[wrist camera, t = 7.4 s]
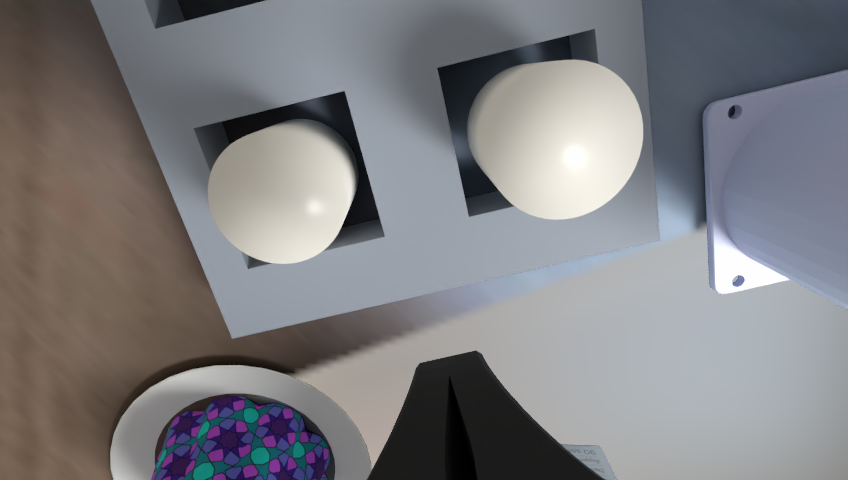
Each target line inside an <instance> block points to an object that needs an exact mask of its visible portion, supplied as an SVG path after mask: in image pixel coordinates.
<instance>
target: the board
mask: <svg viewBox="0 0 848 480" xmlns="http://www.w3.org/2000/svg"><path fill="white" fill-rule="evenodd" d="M91 3H92V5H93V7H94V10H95V12H96V14H97V17H98V19H99V22H100V24H101V26H102V29H103V31H104V34H105V36H106V38H107V41H108V43H109V45H110V48H111V50H112V53H113V55H114V57H115V60H116V62H117V65H118V67H119V69H120V72H121V74H122V77H123V79H124V81H125V84H126V86H127V88H128V91H129V93H130V96H131V98H132V100H133V103H134V105H135V108H136V110H137V112H138V115H139V117H140V120H141V122H142V124H143V127H144V129H145V131H146V134H147V136H148V139H149V141H150V143H151V146H152V148H153V151H154V153H155V155H156V158H157V160H158V163H159V165H160V167H161V170H162V172H163V174H164V177H165V179H166V182H167V184H168V186H169V189H170V191H171V194H172V196H173V198H174V201H175V203H176V205H177V208H178V210H179V213H180V215H181V217H182V220H183V222H184V225H185V227H186V229H187V232H188V234H189V237H190V239H191V241H192V244H193V246H194V248H195V251H196V253H197V256H198V258H199V260H200V263H201V265H202V268H203V270H204V272H205V275H206V277H207V280H208V282H209V284H210V287H211V289H212V291H213V294H214V296H215V299H216V301H217V303H218V306H219V308H220V311H221V313H222V315H223V318H224V320H225V323H226V325H227V327H228V330H229V332H230V334H231V337H232V339H233V338H238V337H242V336H246V335H251V334H255V333H259V332H264V331H268V330H273V329H277V328H281V327H286V326H290V325H294V324H299V323H303V322H307V321H312V320H316V319H320V318H325V317H329V316H334V315H338V314H342V313H347V312H351V311H355V310H360V309H364V308H368V307H373V306H377V305H382V304H386V303H390V302H395V301H399V300H403V299H408V298H412V297H416V296H421V295H425V294H429V293H434V292H438V291H443V290H447V289H451V288H456V287H460V286H464V285H469V284H473V283H477V282H482V281H486V280H490V279H495V278H499V277H504V276H508V275H512V274H517V273H521V272H525V271H530V270H534V269H538V268H543V267H547V266H551V265H556V264H560V263H565V262H569V261H573V260H578V259H582V258H586V257H591V256H595V255H599V254H604V253H608V252H613V251H617V250H621V249H626V248H630V247H634V246H639V245H643V244H647V243H652V242H656V241H660V235H659V221H658V208H657V195H656V182H655V168H654V155H653V142H652V129H651V115H650V102H649V89H648V76H647V63H646V49H645V36H644V23H643V10H642V0H265V1H261V2H258V3H254V4H250V5H246V6H242V7H238V8H234V9H230V10H226V11H223V12H219V13H215V14H211V15H207V16H203V17H199V18H195V19H192V20H188V21H185V19H184V17H183V14H182V11H181V8H180V6H179V3H178V0H91ZM568 35H569V41H570V49H571V57H572V60H584V61H589V62H593V63H596V64H599V65H601V66H604V67H606V68H607V69H609V70H611V71H612V72H614V73H615V74H616V75H618V76H619V77H620V78H621V79H622V80H623V81H624V82H625V83H626V84H627V85H628V87H629V88H630V90H631V91H632V93H633V94H634V96H635V98H636V100H637V102H638V105H639V108H640V111H641V115H642V121H643V142H642V148H641V153H640V157H639V159H638V162H637V165H636V167H635V169H634V171H633V173H632V175H631V176H630V178H629V179H628V181H627V182H626V184H625V185H624V186H623V188H622V189H621V190H620V191H619V192H618V193H617V194H616V195H615V196H614V197H613V198H612V199H611V200H609V201H608V202H607V203H605V204H604V205H603V206H601V207H599V208H598V209H596V210H594V211H592V212H590V213H587V214H585V215H582V216H579V217H575V218H570V219H561V220H552V219H544V218H539V217H535V216H532V215H530V214H527V213H525V212H523V211H521V210H520V209H518V208H517V207H515V206H514V205H513V204H511V203H510V202H509V201H508V200H507V199H506V198H505V197H504V196H503V195H502V193H501V192H500V191H495V192H491V193H486V194H482V195H478V196H474V197H470V198H465V196H464V192H463V187H462V182H461V177H460V173H459V168H458V163H457V159H456V154H455V149H454V144H453V140H452V135H451V130H450V125H449V121H448V116H447V111H446V107H445V102H444V97H443V92H442V88H441V83H440V78H439V74H438V69H437V68H439V67H443V66H447V65H451V64H455V63H459V62H463V61H467V60H471V59H475V58H479V57H483V56H487V55H491V54H495V53H499V52H503V51H507V50H512V49H516V48H520V47H524V46H528V45H532V44H536V43H540V42H544V41H548V40H552V39H556V38H560V37H564V36H568ZM342 91H345V94H346V97H347V101H348V105H349V108H350V112H351V116H352V119H353V123H354V126H355V130H356V134H357V137H358V141H359V145H360V148H361V152H362V155H363V159H364V163H365V166H366V170H367V174H368V177H369V181H370V184H371V188H372V192H373V195H374V199H375V202H376V206H377V210H378V213H379V217H380V219H377V220H372V221H368V222H364V223H360V224H355V225H351V226H347V227H343V228H341V229H340V231H339V233H338V235H337V236H336V238H335V239H334V241H333V242H332V243H331V244H330V245H329V246H328V247H327V248H326V249H325V250H323V251H322V252H321V253H319V254H318V255H316V256H314V257H312V258H310V259H308V260H305V261H301V262H297V263H291V264H276V263H269V262H264V261H261V260H258V259H255V258H253V257H251V256H249V255H247V254H245V253H243V252H242V251H240V250H239V249H238V248H236V247H235V246H234V245H233V244H232V243H230V242H229V241H228V240H227V239H226V237H225V236H224V235H223V234H222V232H221V231H220V229H219V228H218V226H217V225H216V223H215V221H214V218H213V216H212V213H211V210H210V207H209V201H208V181H209V177H210V173H211V171H212V168H213V165H214V164H215V162H216V160H217V158H218V157H219V156H220V154H221V153H222V152H223V151H224V150H225V149H226V148H227V147H228V146H229V145H230V143H229V140H228V137H227V135H226V132H225V129H224V126H223V124H222V121H225V120H229V119H234V118H238V117H242V116H246V115H250V114H254V113H258V112H262V111H266V110H270V109H274V108H278V107H282V106H286V105H290V104H294V103H298V102H302V101H306V100H310V99H314V98H318V97H322V96H326V95H330V94H334V93H338V92H342Z"/></svg>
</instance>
